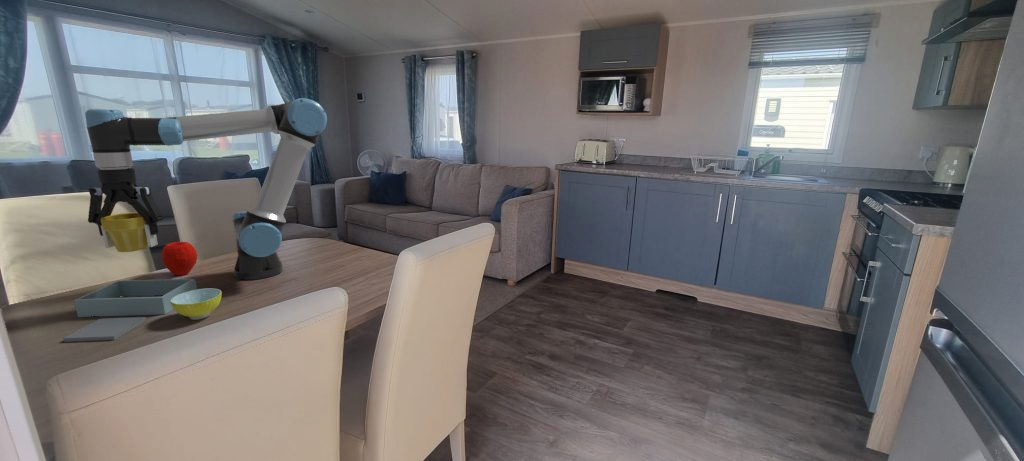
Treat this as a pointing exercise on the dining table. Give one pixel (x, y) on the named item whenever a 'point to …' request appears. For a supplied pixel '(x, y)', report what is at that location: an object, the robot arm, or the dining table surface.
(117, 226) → the plant pot
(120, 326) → the plate
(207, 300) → the bowl
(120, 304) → the crate
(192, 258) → the apple
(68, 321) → the dining table surface
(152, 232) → the robot arm
